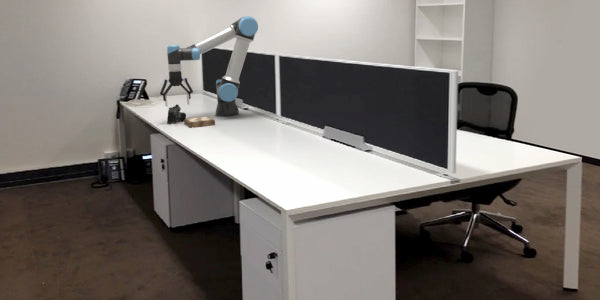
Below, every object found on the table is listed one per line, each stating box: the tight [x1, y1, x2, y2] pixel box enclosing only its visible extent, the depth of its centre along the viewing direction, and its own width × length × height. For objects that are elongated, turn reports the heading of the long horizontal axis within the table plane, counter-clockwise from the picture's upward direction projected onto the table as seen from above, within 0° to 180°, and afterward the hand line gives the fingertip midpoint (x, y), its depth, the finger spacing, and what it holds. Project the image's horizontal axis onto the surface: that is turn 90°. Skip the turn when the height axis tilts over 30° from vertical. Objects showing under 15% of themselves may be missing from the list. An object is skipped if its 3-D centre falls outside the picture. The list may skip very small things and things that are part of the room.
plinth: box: [183, 116, 216, 129], centre depth 358 cm, size 15×15×3 cm
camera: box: [166, 104, 187, 125], centre depth 371 cm, size 18×9×10 cm, turn 178°
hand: (177, 105), depth 370 cm, fingers open, 13 cm apart
